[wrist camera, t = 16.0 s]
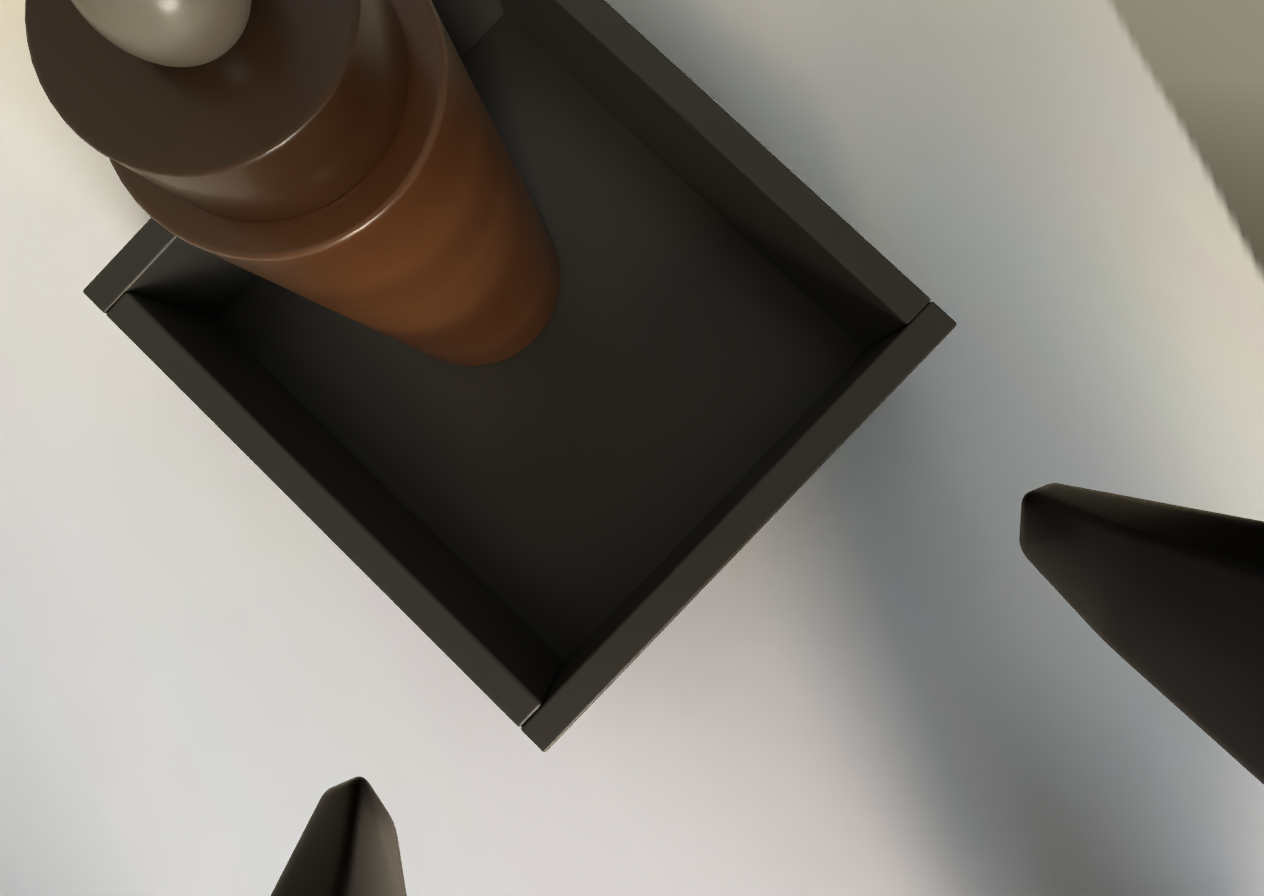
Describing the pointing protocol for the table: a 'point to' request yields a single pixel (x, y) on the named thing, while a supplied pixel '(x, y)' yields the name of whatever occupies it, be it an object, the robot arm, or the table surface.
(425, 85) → the pepper mill
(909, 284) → the dark grey tray
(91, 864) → the table surface
